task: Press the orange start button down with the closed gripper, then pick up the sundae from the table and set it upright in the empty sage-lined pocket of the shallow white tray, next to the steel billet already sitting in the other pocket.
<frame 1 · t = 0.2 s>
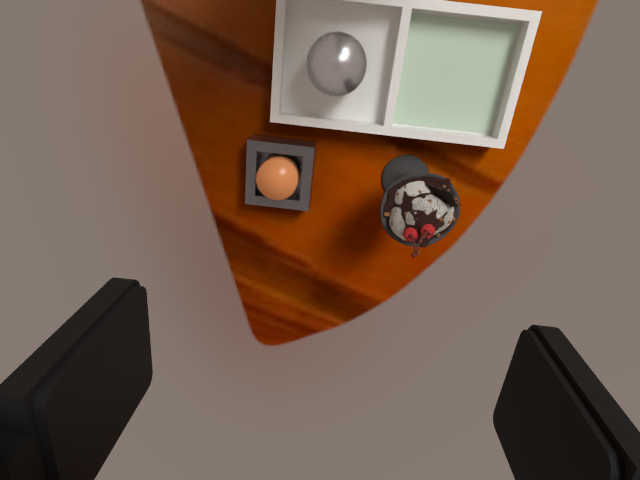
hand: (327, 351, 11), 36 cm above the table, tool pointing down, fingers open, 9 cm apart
shallow white tray: (394, 68, 41), on the table
sundae: (404, 177, 46), on the table
button housing: (282, 168, 46), on the table
button cap: (278, 177, 43), point 3 cm above the table, slide at 0.0 cm
steel billet: (337, 62, 40), point 1 cm above the table, touching shallow white tray
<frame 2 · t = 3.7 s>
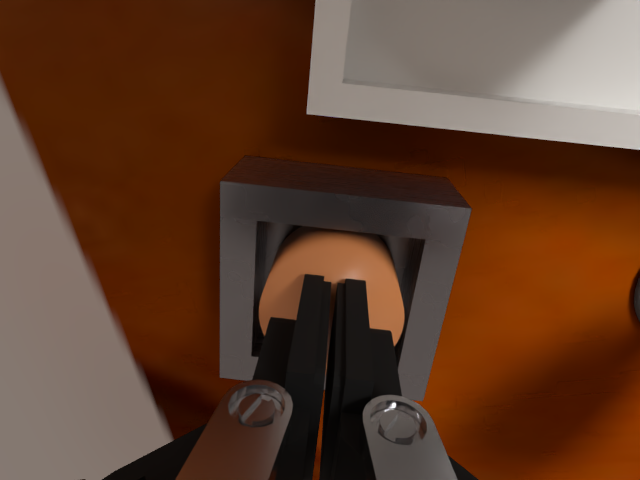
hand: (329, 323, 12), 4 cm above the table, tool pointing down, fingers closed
button housing: (334, 257, 15), on the table
button cap: (332, 295, 13), point 3 cm above the table, slide at 0.6 cm, touching gripper
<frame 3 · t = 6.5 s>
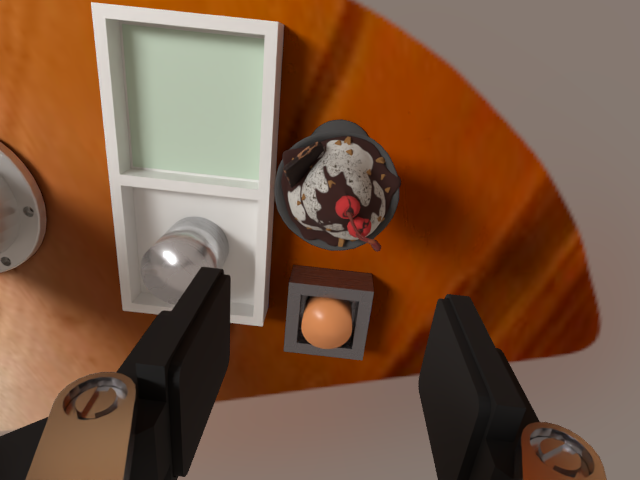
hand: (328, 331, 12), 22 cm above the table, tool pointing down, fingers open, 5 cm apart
shallow white tray: (201, 177, 33), on the table
sundae: (339, 152, 32), on the table
button housing: (328, 302, 37), on the table
button cap: (327, 319, 35), point 3 cm above the table, slide at 0.6 cm
steel billet: (198, 245, 35), point 1 cm above the table, touching shallow white tray
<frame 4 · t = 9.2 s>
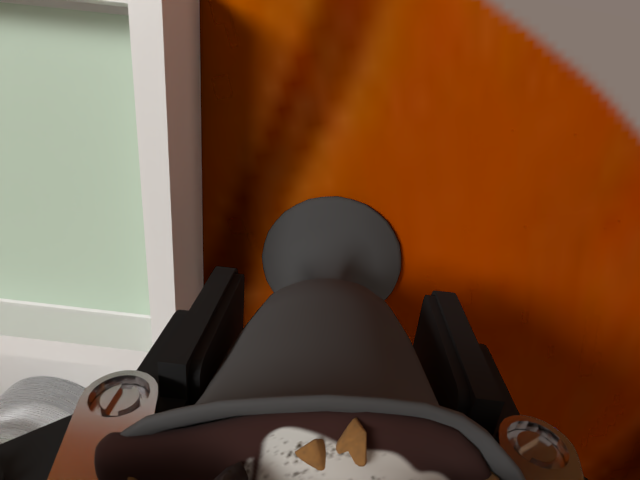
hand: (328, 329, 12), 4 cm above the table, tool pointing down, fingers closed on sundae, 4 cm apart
shallow white tray: (56, 300, 17), on the table
sundae: (333, 259, 16), on the table, touching gripper
steel billet: (60, 423, 18), point 1 cm above the table, touching shallow white tray
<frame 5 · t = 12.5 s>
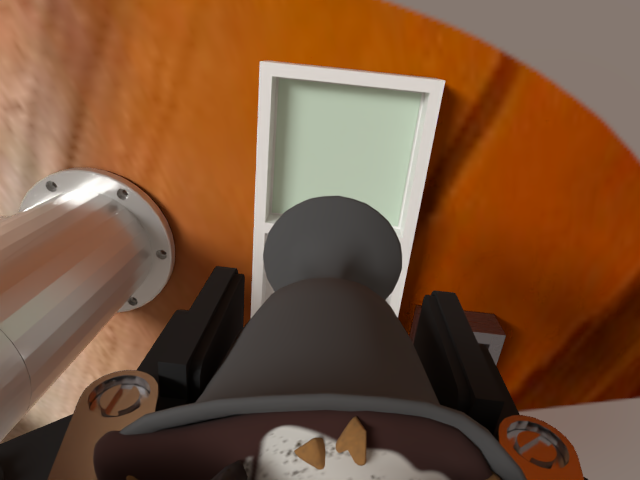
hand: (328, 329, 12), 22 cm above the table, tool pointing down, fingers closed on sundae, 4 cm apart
shallow white tray: (334, 221, 34), on the table
sundae: (334, 258, 16), point 18 cm above the table, touching gripper
button housing: (446, 341, 38), on the table
when the fingers open (7 cm above the table, at t = 15.7 s): sundae drops 1 cm, resting on shallow white tray.
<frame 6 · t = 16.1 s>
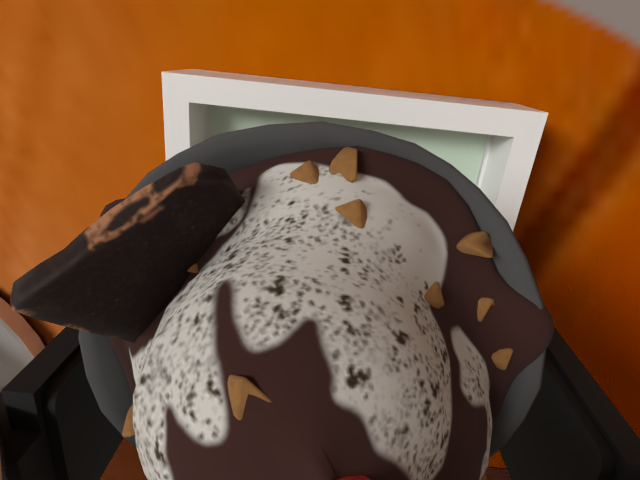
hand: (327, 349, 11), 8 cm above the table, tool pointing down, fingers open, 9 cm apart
shallow white tray: (321, 341, 20), on the table
sundae: (335, 205, 16), point 1 cm above the table, touching shallow white tray
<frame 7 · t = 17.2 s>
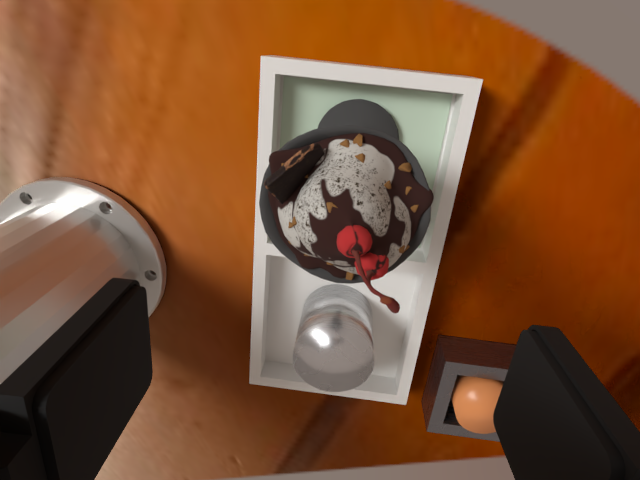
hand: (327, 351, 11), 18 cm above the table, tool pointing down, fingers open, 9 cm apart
shallow white tray: (346, 240, 30), on the table
sundae: (358, 140, 26), point 1 cm above the table, touching shallow white tray
button housing: (472, 375, 33), on the table
button cap: (480, 399, 31), point 3 cm above the table, slide at 0.6 cm
steel billet: (337, 314, 31), point 1 cm above the table, touching shallow white tray
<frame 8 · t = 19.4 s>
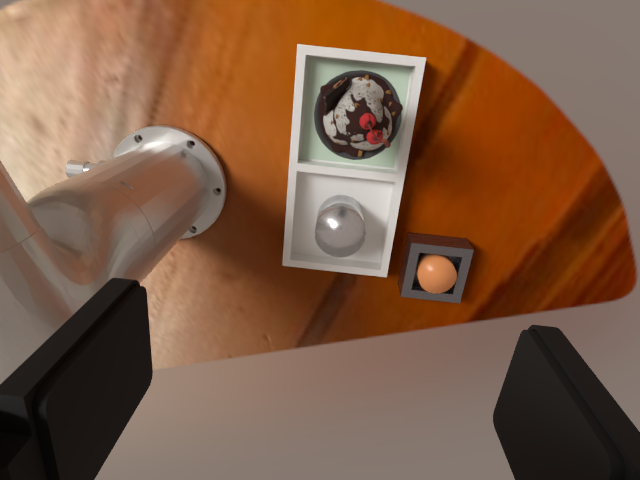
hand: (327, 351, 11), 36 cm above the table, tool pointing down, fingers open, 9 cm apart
shallow white tray: (346, 166, 46), on the table
sundae: (353, 97, 42), point 1 cm above the table, touching shallow white tray
button housing: (431, 261, 49), on the table
button cap: (435, 272, 47), point 3 cm above the table, slide at 0.6 cm
steel billet: (340, 216, 47), point 1 cm above the table, touching shallow white tray
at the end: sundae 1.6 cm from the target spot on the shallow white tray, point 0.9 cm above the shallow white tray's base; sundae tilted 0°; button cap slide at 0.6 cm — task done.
